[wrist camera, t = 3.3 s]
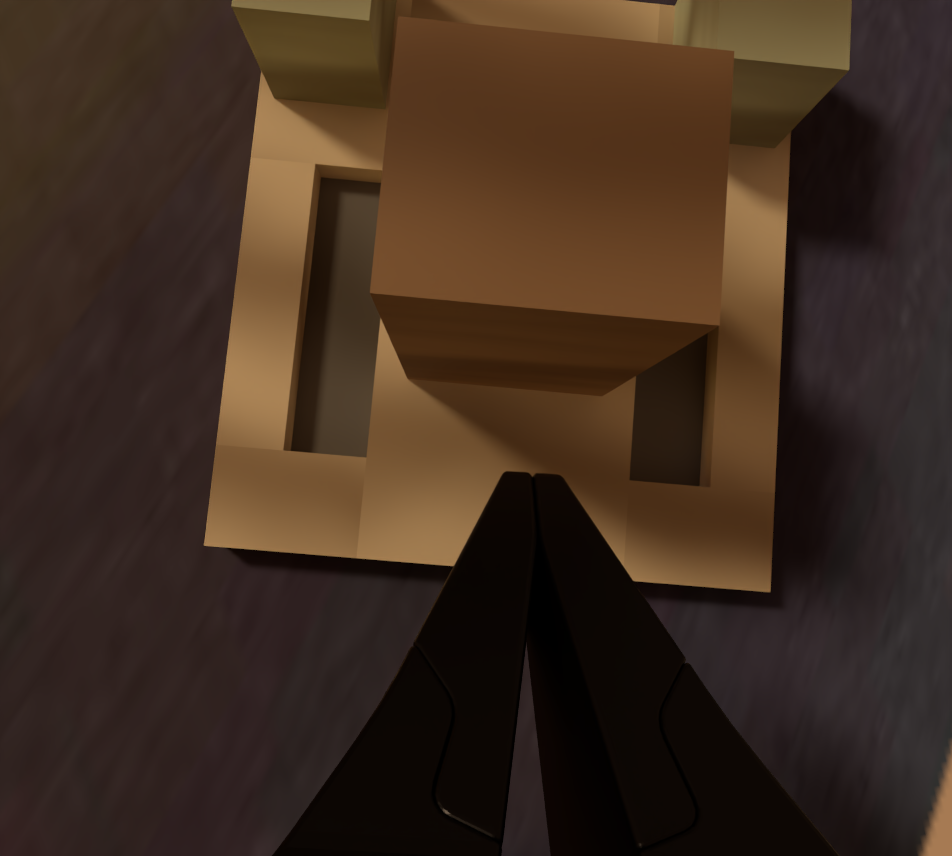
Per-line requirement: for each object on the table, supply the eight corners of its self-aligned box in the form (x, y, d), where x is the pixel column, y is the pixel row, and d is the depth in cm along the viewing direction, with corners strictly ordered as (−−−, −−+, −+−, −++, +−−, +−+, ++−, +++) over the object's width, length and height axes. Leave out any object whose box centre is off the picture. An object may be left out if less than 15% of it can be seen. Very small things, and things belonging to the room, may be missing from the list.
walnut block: (602, 396, 20) (719, 325, 11) (407, 378, 20) (369, 293, 11) (613, 239, 21) (734, 50, 12) (422, 220, 21) (398, 16, 12)
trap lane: (752, 586, 21) (849, 619, 16) (218, 542, 21) (139, 561, 15) (778, 43, 23) (873, -88, 18) (284, -8, 22) (232, -158, 17)
